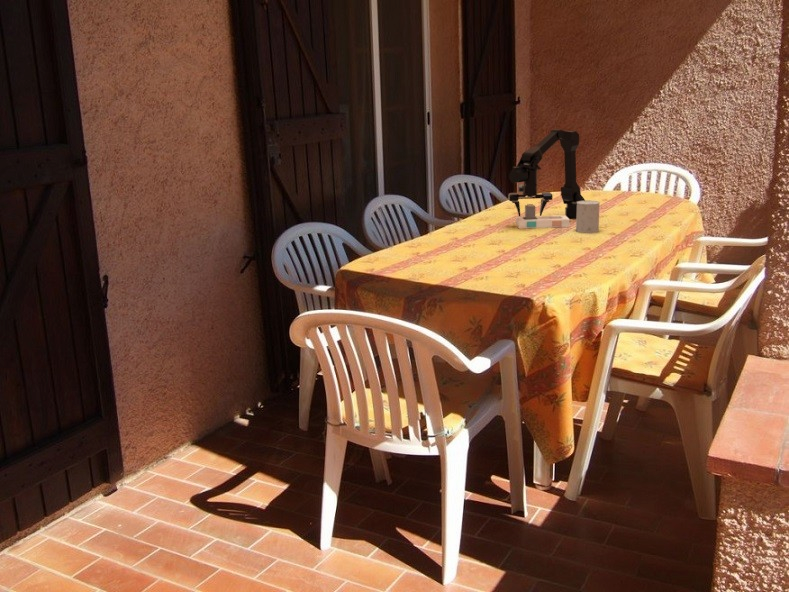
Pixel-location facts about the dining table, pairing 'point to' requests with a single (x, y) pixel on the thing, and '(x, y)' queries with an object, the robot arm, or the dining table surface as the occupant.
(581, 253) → the dining table surface
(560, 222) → the socket strip
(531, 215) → the plug
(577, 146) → the robot arm
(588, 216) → the stone cylinder
